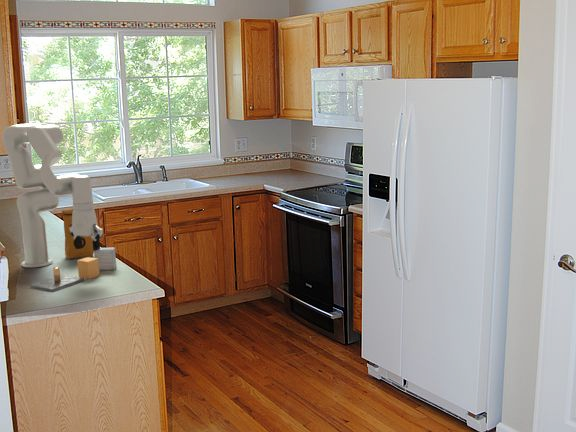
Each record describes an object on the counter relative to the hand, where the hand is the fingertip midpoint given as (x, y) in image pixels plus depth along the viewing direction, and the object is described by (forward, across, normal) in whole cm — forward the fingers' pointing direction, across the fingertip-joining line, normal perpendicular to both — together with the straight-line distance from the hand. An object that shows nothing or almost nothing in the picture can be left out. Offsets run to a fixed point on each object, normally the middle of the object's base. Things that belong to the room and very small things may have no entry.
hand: (87, 249), depth 278 cm
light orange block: (+11, -1, 0) cm, 11 cm away
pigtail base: (+11, -4, -13) cm, 18 cm away
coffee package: (+11, -28, +22) cm, 37 cm away
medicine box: (+11, -3, +12) cm, 17 cm away
